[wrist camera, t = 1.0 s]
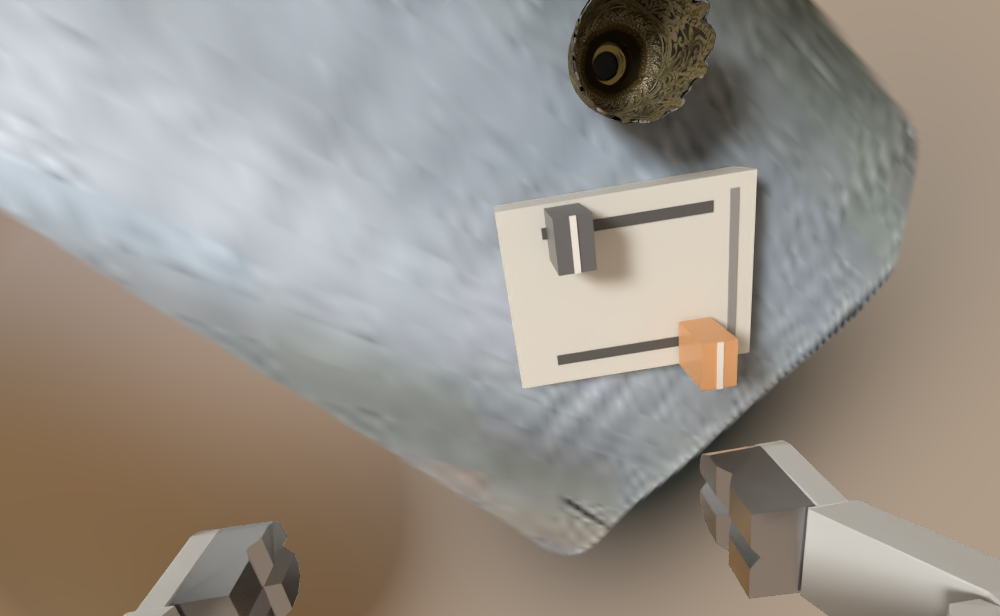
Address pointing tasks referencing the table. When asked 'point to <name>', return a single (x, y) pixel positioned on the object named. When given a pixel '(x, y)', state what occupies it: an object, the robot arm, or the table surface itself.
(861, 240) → the table surface
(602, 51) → the cup
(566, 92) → the table surface
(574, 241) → the fader
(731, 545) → the robot arm
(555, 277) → the mixer console
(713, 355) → the fader
